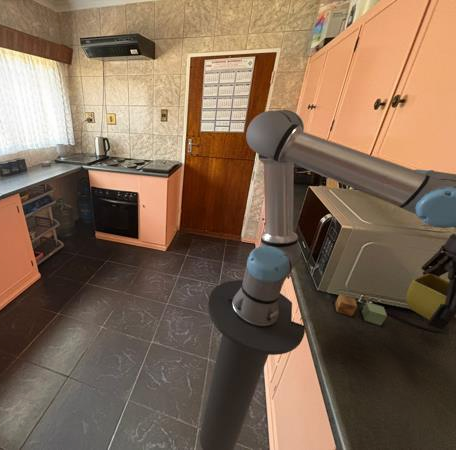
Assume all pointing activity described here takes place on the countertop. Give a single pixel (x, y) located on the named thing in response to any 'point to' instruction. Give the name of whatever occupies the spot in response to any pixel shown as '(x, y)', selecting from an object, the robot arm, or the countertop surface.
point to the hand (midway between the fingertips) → (425, 310)
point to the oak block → (345, 305)
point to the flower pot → (427, 294)
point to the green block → (374, 313)
